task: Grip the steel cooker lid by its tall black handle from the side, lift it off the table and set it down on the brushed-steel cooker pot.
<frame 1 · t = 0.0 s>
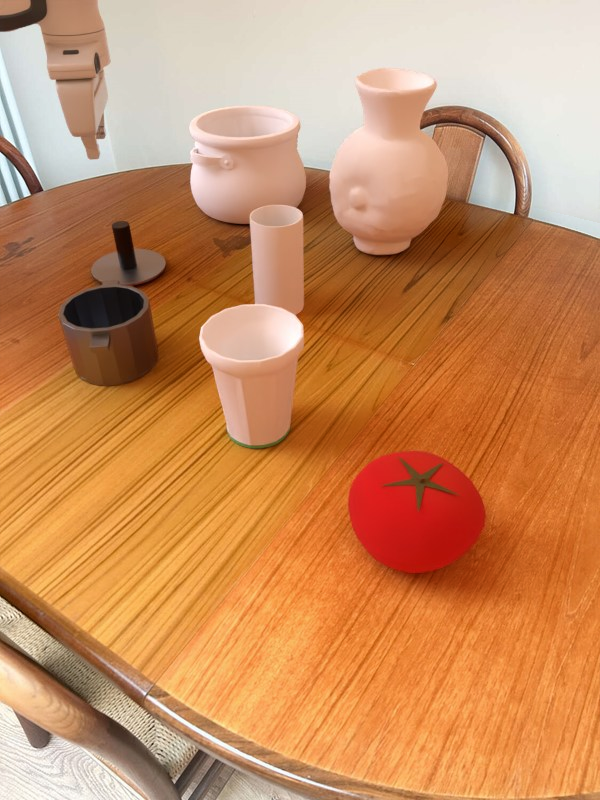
hand: (97, 147, 105), 23 cm above the table, tool pointing down, fingers open, 8 cm apart
cup: (279, 306, 111), on the table
lid: (129, 268, 120), point 1 cm above the table
cup 2: (258, 428, 87), on the table
tomato: (409, 541, 73), on the table
pot: (250, 205, 142), on the table
cooker: (116, 360, 99), on the table
vase: (381, 246, 127), on the table
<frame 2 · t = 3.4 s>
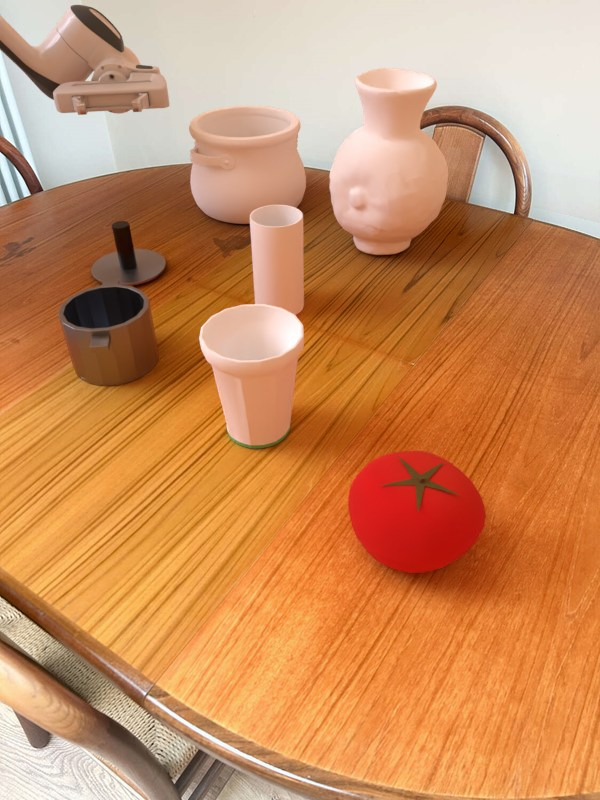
hand: (109, 108, 113), 25 cm above the table, tool horizontal, fingers open, 8 cm apart
nothing on the table moved.
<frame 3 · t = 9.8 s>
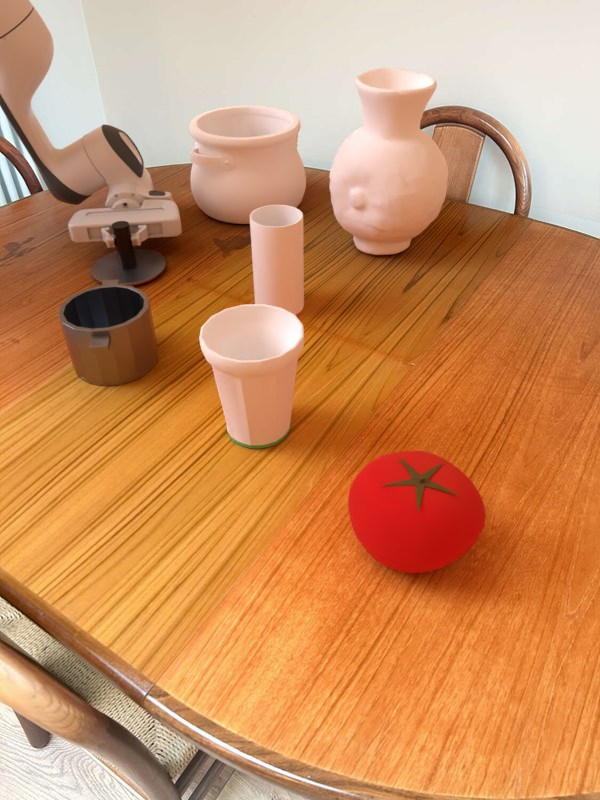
hand: (123, 242, 116), 6 cm above the table, tool horizontal, fingers closed on lid, 3 cm apart
lid: (129, 267, 120), point 1 cm above the table, touching gripper
everything else where it was.
when the fingers open (15 cm above the table, at t = 19.6 s): lid stays where it is, resting on cooker.
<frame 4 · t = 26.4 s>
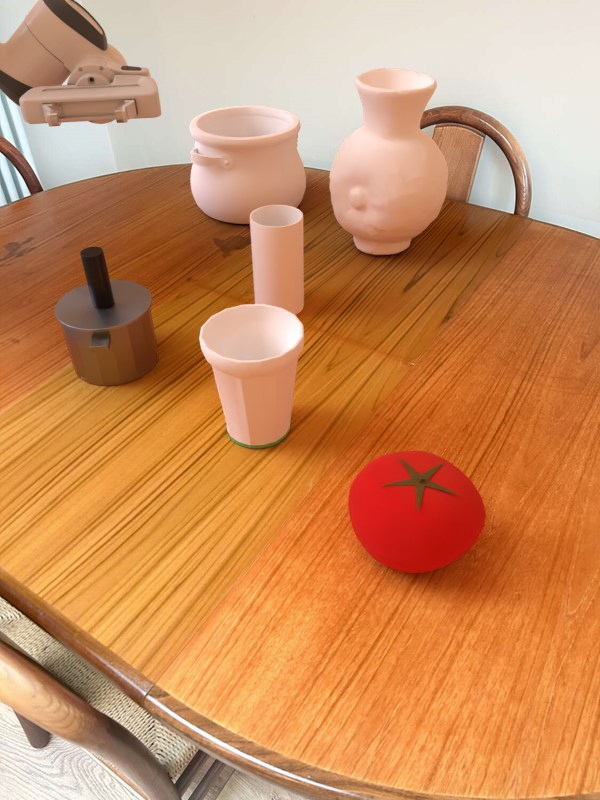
hand: (87, 118, 93), 30 cm above the table, tool horizontal, fingers open, 8 cm apart
lid: (104, 306, 93), point 9 cm above the table, touching cooker
everything else where it was.
at the end: lid 0.1 cm off-centre on the cooker, point 9.5 cm above the cooker's base; lid tilted 0°; the gripper is holding nothing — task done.
